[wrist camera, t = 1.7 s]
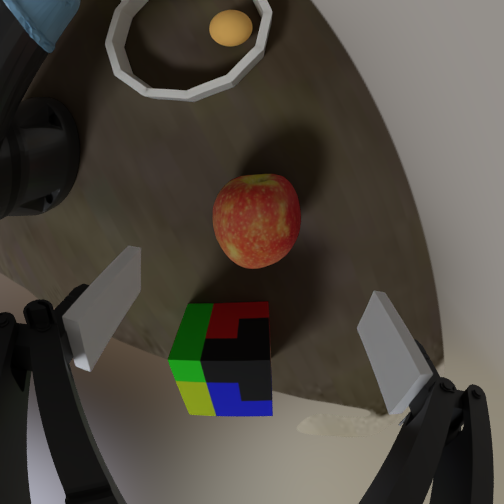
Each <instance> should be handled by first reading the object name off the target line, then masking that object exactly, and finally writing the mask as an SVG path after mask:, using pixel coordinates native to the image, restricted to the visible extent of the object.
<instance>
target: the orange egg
mask: <svg viewBox="0 0 504 504" xmlns="http://www.w3.org/2000/svg"><path fill="white" fill-rule="evenodd" d="M209 30H210V34H211V37H212V38H213V39H214V40H215V41H216V42H217V43H219V44H221V45H224V46H237V45H240V44H242V43H244V42H245V41H246V40H247V39H248V38H249V37H250V35H251V33H252V22H251V20H250V18H249V17H248V16H247V15H246V14H244V13H243V12H240V11H237V10H226V11H223V12H220V13H219V14H217V15H216V16H215V17H214V18H213V19H212V21H211V23H210V27H209Z"/></svg>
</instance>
